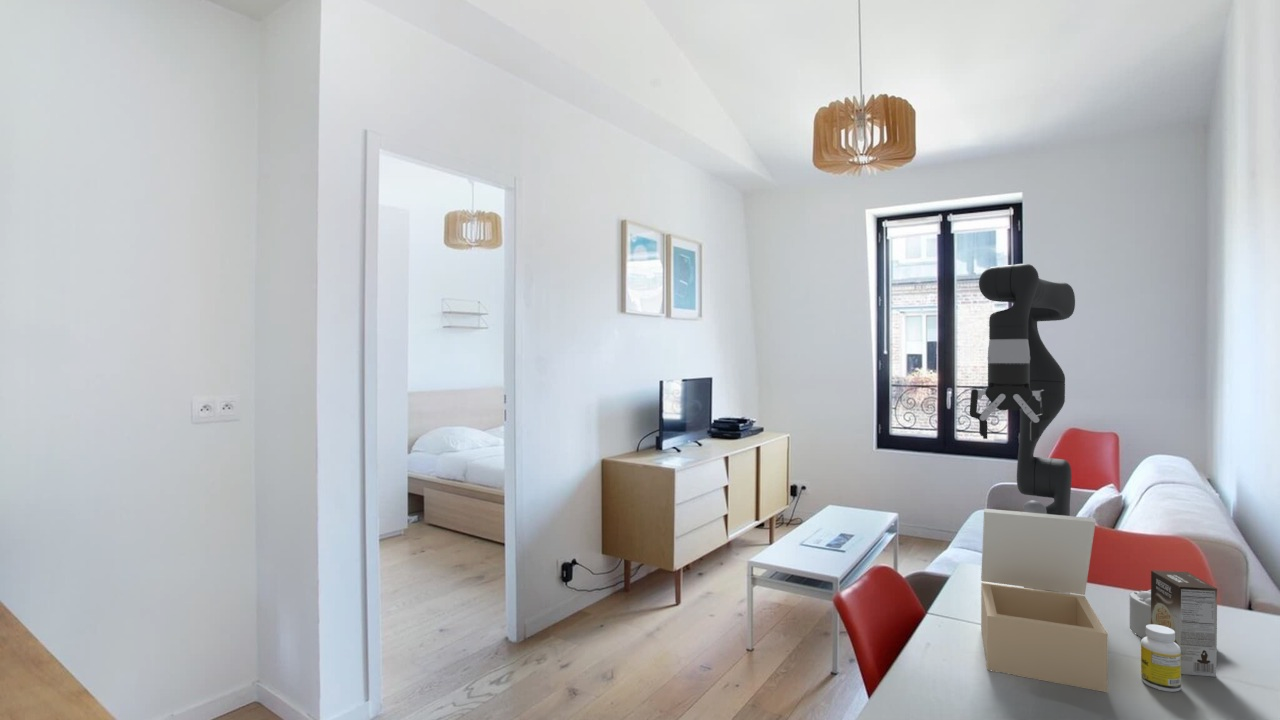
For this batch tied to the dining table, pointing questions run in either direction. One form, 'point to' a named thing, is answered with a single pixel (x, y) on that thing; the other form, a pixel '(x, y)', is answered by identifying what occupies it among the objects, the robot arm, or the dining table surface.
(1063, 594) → the carton
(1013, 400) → the robot arm
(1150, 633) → the supplement bottle
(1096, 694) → the dining table surface
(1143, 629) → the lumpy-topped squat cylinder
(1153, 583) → the coffee box
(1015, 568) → the lid
